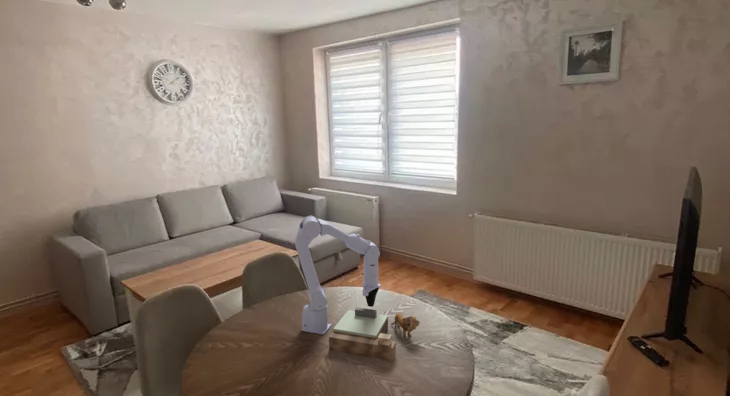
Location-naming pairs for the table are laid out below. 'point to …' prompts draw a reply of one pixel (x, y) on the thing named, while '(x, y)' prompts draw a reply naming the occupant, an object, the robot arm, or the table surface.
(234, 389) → the table surface
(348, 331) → the lid
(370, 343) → the wooden box
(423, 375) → the table surface
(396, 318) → the lion figurine
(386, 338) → the wooden key
